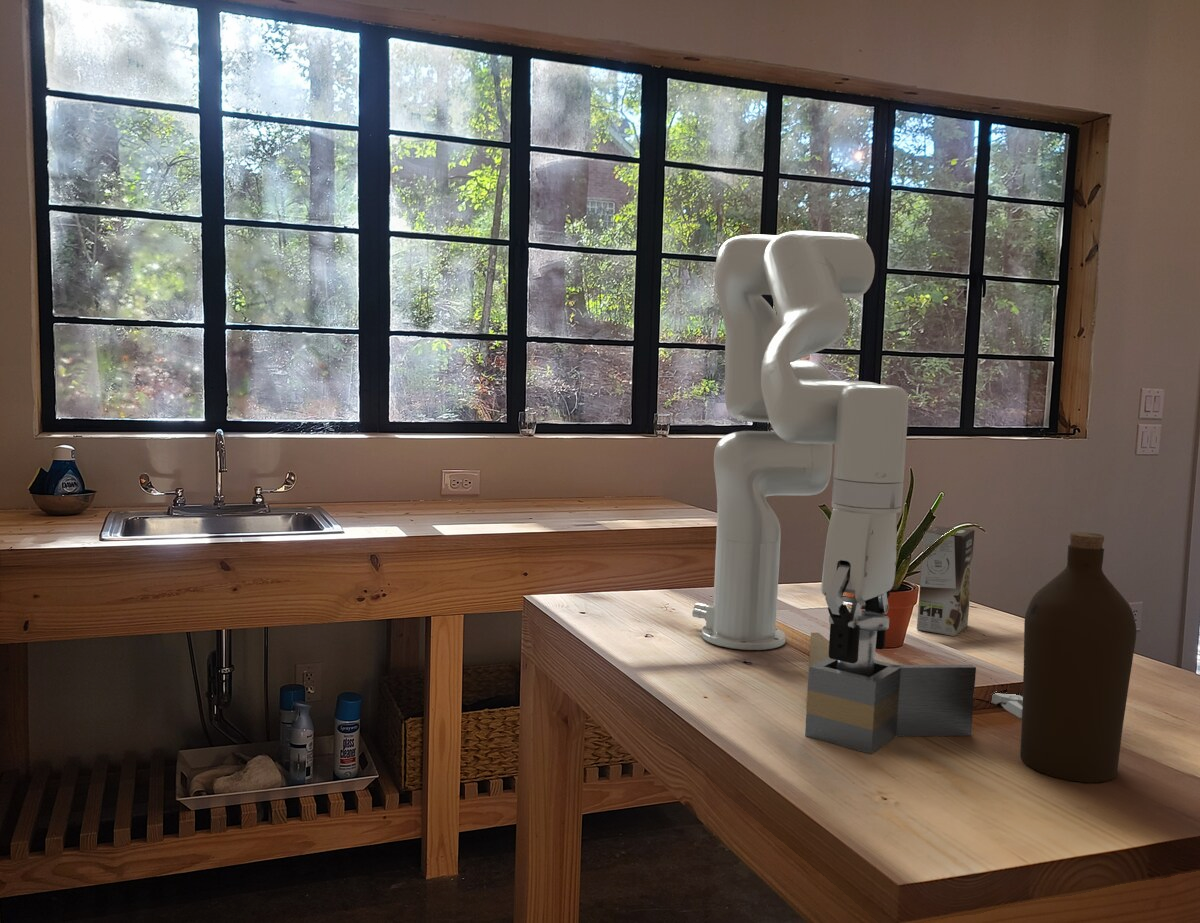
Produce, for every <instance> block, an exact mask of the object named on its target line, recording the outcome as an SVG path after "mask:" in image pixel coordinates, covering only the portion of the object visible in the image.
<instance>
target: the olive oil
mask: <svg viewBox="0 0 1200 923" xmlns="http://www.w3.org/2000/svg"><path fill="white" fill-rule="evenodd" d="M1069 539H1070V543H1069V545H1068V546H1067V564H1066V566H1065V568H1064V569H1063V570H1062V571H1061V572H1060V573H1058V574H1057V575H1056V576H1055V577H1053V579H1052V580H1050V581H1048V582H1047V583H1046V584H1045V585H1044V586H1042V587H1041V588H1040V589H1039V590H1038V591H1037V592H1036V593H1035V594H1034V595H1033V596H1032V598H1031V599H1030V601H1029V604H1028V607H1027V609H1026V612H1025V616H1024V627H1023V628H1024V629H1023V632H1024V633H1023V636H1024V637H1023V673H1022V674H1023V676H1022V677H1023V678H1022V681H1023V682H1022V683H1023V684H1022V697H1023V707H1022V719H1021V732H1020V733H1021V734H1020V750H1019V751H1020V755H1019V756H1020V759H1021V760H1022V762H1023V763H1025V765H1027V766H1028V767H1029V768H1031V769H1033V770H1035V771H1037V772H1038V773H1042V774H1044V775H1047V776H1050V777H1053V778H1058V779H1061V780H1065V781H1070V782H1071V781H1073V782H1078V783H1103V782H1108V781H1111V780H1113V779H1114V778H1116V777H1117V774H1118V769H1119V768H1118V767H1119V760H1120V753H1121V752H1120V751H1121V744H1122V735H1123V730H1124V729H1123V728H1124V721H1125V720H1124V719H1125V713H1126V708H1127V701H1128V700H1127V699H1128V694H1129V686H1130V679H1131V673H1132V667H1133V660H1134V655H1135V648H1136V641H1137V624H1136V619H1135V616H1134V612H1133V609H1132V607H1131V606H1130V603H1128V601H1127V599H1126V598H1124V596H1123V595H1122V594H1121V592H1119V590H1118V589H1117V588H1116V587H1115V585H1114V584H1113V583H1112V582H1111V581H1110V580H1109V579H1108V577H1106V575H1105V574H1104V571H1103V564H1104V563H1103V562H1104V553H1105V548H1103V543H1104V541H1105V540H1104V539H1105V536H1104V535H1102V534H1100V533H1096V532H1095V533H1094V532H1089V531H1072V532H1070V535H1069Z"/></svg>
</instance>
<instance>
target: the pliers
mask: <svg viewBox="0 0 1200 923" xmlns="http://www.w3.org/2000/svg"><path fill="white" fill-rule="evenodd" d="M994 693H995V692H994ZM992 694H993V693H992ZM992 694H991V695H992ZM991 704H994V705H998V704H1000V706H1001V707H1002V708H1003V709H1004V710H1006V711H1007V712H1008V713H1010V714H1012V715H1013V716H1015V717H1017V718H1018V719H1021V720H1022V707H1023V695H1020V694H1019V695H1016V694H1006V693H1001V692H1000V693H995V694H993V695H992V701H991Z"/></svg>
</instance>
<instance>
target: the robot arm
mask: <svg viewBox="0 0 1200 923" xmlns="http://www.w3.org/2000/svg"><path fill="white" fill-rule="evenodd" d="M875 268H876V264H875V258H874V253H873V251H872V248H871V246H870V245H869V244H868V242H867V241H866V240H865V239H864V238H862V236H860V235H857V234H855V233H848V232H847V233H845V232H834V231H833V232H831V231H830V232H829V231H815V230H792V231H786V232H782V233H780V234H762V233H761V234H759V233H758V234H752V233H751V234H742V235H735V236H734V237H730V238H729V239H727V240H726V241H724V242H723V243H722V245H721V246H720V247H719V250H718V253H717V255H716V260H715V269H714V282H715V291H716V297H717V300H718V304H719V307H720V311H721V315H722V319H723V324H724V331H725V333H724V334H725V342H724V343H725V345H724V347H725V348H724V399H725V406H726V407H725V408H726V410H727V412H728V414H729V415H730V416H731V417H732V418H734V419H736V420H740V421H744V422H753V423H754V422H755V423H756V422H757V423H770V425H771V428H772V431H771V430H767V431H766V430H741V431H734V432H731V433H728V434H726V435H723V437H721V438H720V439H719V441H718V442H717V444H716V445H715V448H714V453H713V472H714V479H715V487H716V507H717V510H716V539H715V540H716V541H715V542H716V543H715V558H714V559H715V562H714V586H713V603H712V604H707V603H702V602H696V603H695V604H694V605H693V606H694V607H693V609H692V612H691V613H692V617H693V618H698V619H704V621H705V625H704V626H703V627H702V628H701V637H702V639H704V640H705V641H706V642H707V643H709V644H712V645H715V646H718V647H723V648H728V649H734V650H743V651H744V650H745V651H762V650H765V651H766V650H773V649H777V648H779V647H782V646H784V645H785V643H786V634H785V632H784V631H783V630H781V629H779V628H777V626H776V625H777V610H778V594H779V593H778V589H779V576H780V575H779V574H780V573H779V572H780V570H779V569H780V557H781V556H780V554H781V534H782V532H781V523H780V521H779V517H778V516H777V514H776V513H775V512H774V510H773V508H772V507H771V506H770V504H769V503H768V501H767V498H766V497H770V496H771V497H772V496H773V497H774V496H798V497H799V496H814V495H815V496H816V495H819V494H821V493H822V492H824V491H825V489H826V488H827V487H828V485H829V483H830V481H831V475H832V476H833V478H832V490H831V492H832V493H831V508H832V511H831V515H830V518H829V523H828V527H827V528H828V529H827V535H826V540H825V541H826V542H825V548H824V556H823V565H822V577H821V586H820V587H821V593H822V595H823V596H824V597H825V599H824V600H825V602H826V604H827V610H828V613H829V618H828V622H829V624H830V625H829V640H828V641H829V657H830V658H831V659H835V660H839V661H844V662H848V663H856V662H857V661H858V650H859V634H860V627H856V625H857V621H858V617H859V612H860V610H864V611H870V612H875V613H879V614H883V615H885V616H887V617H888V615H887V614H888V611H889V601H888V599H889V597H890V596H891V594H890V593H891V590H892V589H893V587H894V583H895V577H896V570H897V568H896V566H897V546H898V544H897V542H898V541H897V540H898V538H897V537H898V536H897V535H898V533H897V532H898V529H897V527H898V526H897V525H898V524H897V523H898V522H897V520H898V518H897V514H898V513H902V510H903V509H902V508H903V507H902V506H903V495H904V494H903V493H904V481H905V480H904V479H905V478H904V476H905V465H906V451H907V450H906V448H907V434H908V433H907V432H908V420H909V402H910V400H909V394H908V393H907V391H906V390H905V389H904V388H903V387H900V386H898V385H893V384H891V385H890V384H879V383H877V382H873V381H872V382H871V381H865V380H863V381H862V380H844V379H843V380H842V379H831V377H830V374H829V372H828V370H827V368H825V367H824V365H822V364H821V363H819V362H817V361H814V360H809V359H808V360H807V359H803V358H806V357H807V356H810V355H813V354H815V353H817V352H820V351H823V350H825V349H826V348H829V347H830V346H832V345H833V344H835V343H837V342H838V341H839V339H841V338H842V337H843V336H844V334H845V332H846V331H847V330H848V327H849V324H850V314H849V313H850V312H849V310H848V307H847V304H846V302H845V299H854V298H859V297H861V296H863V295H864V294H865V293H867V292H868V290H869V289H870V288H871V285H872V283H873V280H874V277H875ZM764 295H766V296H767V295H768V296H771V298H772V302H773V305H774V308H775V310H774V309H773V307H772V306H771V304H770V303H769V302H768V301H767V300H766V299H765V298H764V297H763V296H764ZM833 445H834V456H833ZM833 457H834V458H833ZM832 467H833V469H832ZM832 471H833V474H832ZM844 593H847V594H854V595H853V597H852V596H846V595H844ZM846 604H847V605H851V608H850V609H851V612H849V610H848V609H849V608H848V606H847V605H846ZM886 632H887V630H882V631H877V638H876V650H882V649H884V648H886V647H885V645H886V635H887V634H886Z"/></svg>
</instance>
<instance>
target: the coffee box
mask: <svg viewBox="0 0 1200 923" xmlns="http://www.w3.org/2000/svg"><path fill="white" fill-rule="evenodd" d="M954 528H955V527H946V526H945V527H943V526H935V527H933V528H930V529H928V530H926V531H924V532H925V534H924V533H923V543H922V550H921V551H922V552H924V551H925V550H926V549H927V548H928V547H930V546H931V545H932V544H933V543H934V542H935V541H936V540H937V539H939V538H940V537H941V536H942V535H944V534H945V533H947V532H949V531H950V530H952V529H954ZM975 532H976V530H975V529H971V528H970V529H968V528H963V529H962V530H959V531H957V532H956V533H954V534H953V535H951V536H950V537H948V538H947V539H946V540H945V541H944V542H942V543H941V544H940V545H939V546H938V547H937V548H935V550H934V551H933V552H932V553H931V554H930V555H929V556H928V557H926V558H925V559H924V560H923V562H922V561H921V567H920V577H919V578H920V579H919V594H918V595H919V596H918V607H917V608H918V610H917V623H916V630H918V631H923V632H928V633H935V634H941V635H946V636H951V637H956V636H957V635H958V634H959V633H960V632H961V631H963V630H964V629H965V628H966V627H968V624H969V613H970V612H969V611H970V600H971V586H972V585H971V584H972V583H971V582H972V569H973V556H974V545H975V544H974V542H975V541H974V540H975ZM922 552H921V553H922Z"/></svg>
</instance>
